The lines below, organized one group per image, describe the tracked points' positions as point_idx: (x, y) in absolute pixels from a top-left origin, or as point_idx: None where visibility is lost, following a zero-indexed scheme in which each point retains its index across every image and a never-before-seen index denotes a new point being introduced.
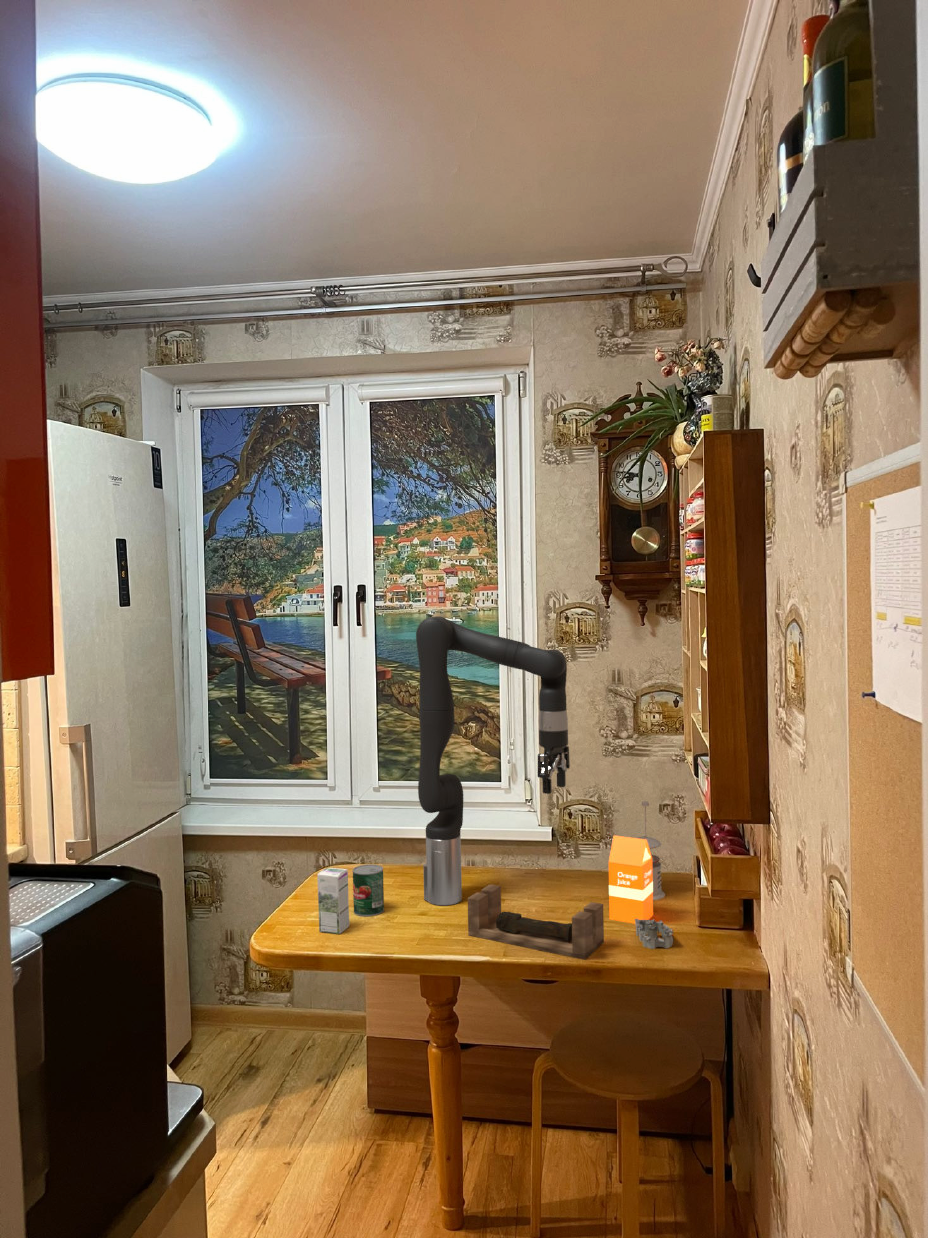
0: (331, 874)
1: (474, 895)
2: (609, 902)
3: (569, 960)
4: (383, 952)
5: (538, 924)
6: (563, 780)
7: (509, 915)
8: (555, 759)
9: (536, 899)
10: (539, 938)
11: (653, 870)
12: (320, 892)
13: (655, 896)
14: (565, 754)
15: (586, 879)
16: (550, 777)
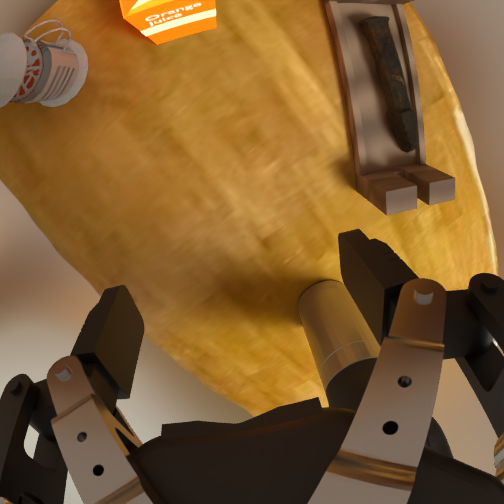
0: (496, 344)
1: (442, 198)
2: (215, 19)
3: (404, 8)
4: (484, 227)
5: (402, 71)
6: (112, 317)
7: (417, 126)
8: (413, 482)
9: (222, 198)
10: None
11: (41, 40)
12: None
13: (66, 43)
14: (14, 496)
15: (73, 204)
16: (431, 284)
